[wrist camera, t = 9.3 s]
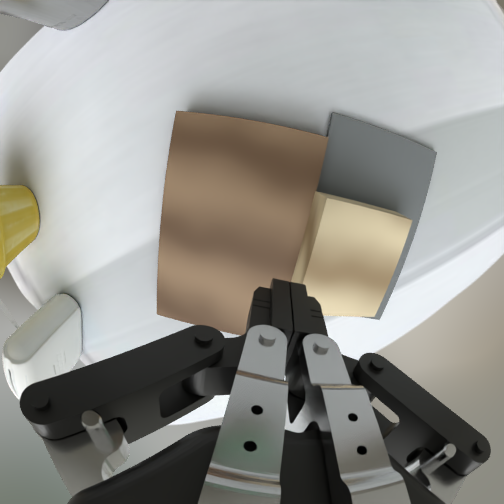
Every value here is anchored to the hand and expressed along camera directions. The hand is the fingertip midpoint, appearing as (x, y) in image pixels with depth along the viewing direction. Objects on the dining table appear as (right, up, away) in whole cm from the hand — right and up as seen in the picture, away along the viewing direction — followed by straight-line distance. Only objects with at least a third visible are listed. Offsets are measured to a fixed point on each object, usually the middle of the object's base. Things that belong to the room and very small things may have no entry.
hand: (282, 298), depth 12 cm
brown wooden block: (-3, +4, +8) cm, 9 cm away
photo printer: (-23, -7, +15) cm, 28 cm away
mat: (+7, +4, +7) cm, 11 cm away
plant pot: (-27, +7, +10) cm, 29 cm away
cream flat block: (+5, +2, +7) cm, 9 cm away
